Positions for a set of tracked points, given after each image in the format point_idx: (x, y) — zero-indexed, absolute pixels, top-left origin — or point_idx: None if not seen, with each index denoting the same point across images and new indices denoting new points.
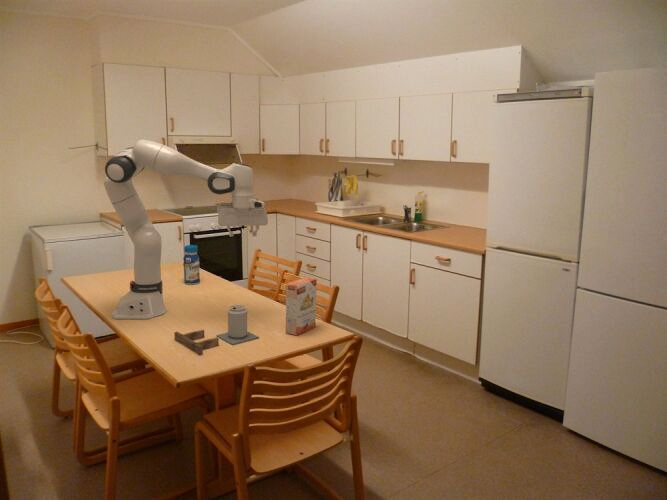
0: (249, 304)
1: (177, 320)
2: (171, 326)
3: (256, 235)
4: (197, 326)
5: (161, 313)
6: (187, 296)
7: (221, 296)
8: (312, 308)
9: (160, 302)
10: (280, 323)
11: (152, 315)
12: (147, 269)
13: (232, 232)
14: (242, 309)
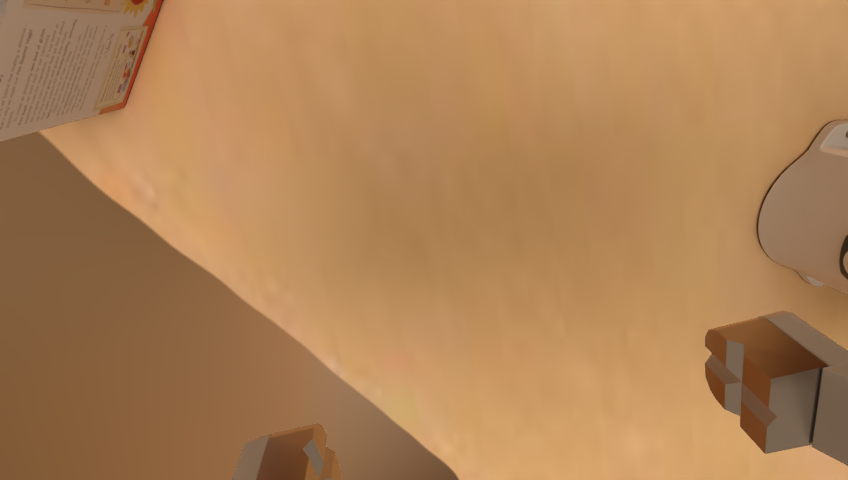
0: (431, 341)
1: (709, 117)
2: (733, 31)
3: (247, 444)
4: (619, 39)
5: (780, 183)
6: (679, 401)
7: (552, 415)
8: None
9: (820, 208)
10: (244, 111)
11: (820, 144)
12: None
13: (789, 390)
14: None
